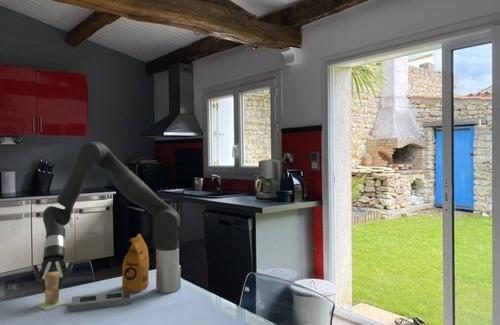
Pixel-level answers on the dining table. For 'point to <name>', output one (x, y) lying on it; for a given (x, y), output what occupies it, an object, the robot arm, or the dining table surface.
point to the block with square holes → (100, 301)
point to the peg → (52, 287)
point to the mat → (51, 304)
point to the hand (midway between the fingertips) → (52, 289)
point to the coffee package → (136, 266)
